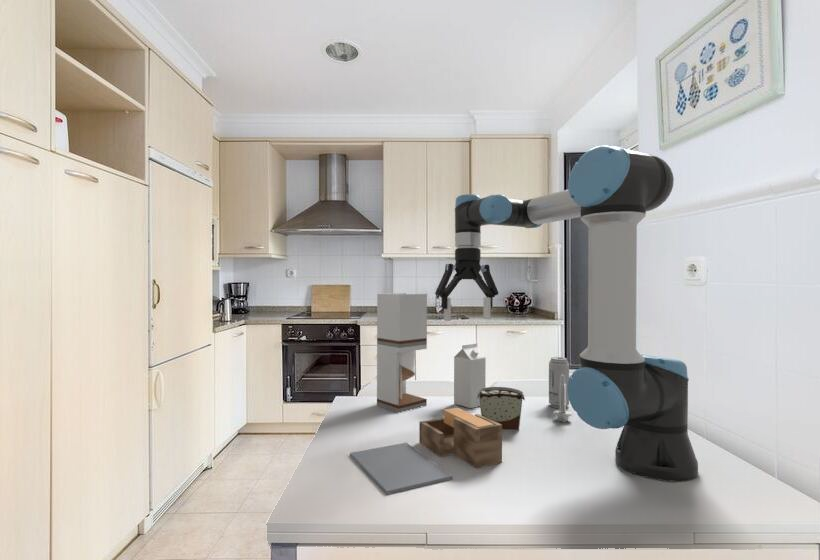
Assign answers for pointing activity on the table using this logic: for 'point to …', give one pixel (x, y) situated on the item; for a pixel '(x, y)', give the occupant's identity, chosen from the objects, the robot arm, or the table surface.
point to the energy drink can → (557, 379)
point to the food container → (502, 406)
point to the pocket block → (463, 440)
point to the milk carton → (469, 375)
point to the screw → (562, 402)
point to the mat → (399, 467)
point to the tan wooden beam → (464, 418)
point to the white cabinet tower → (399, 347)
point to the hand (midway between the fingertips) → (467, 319)
